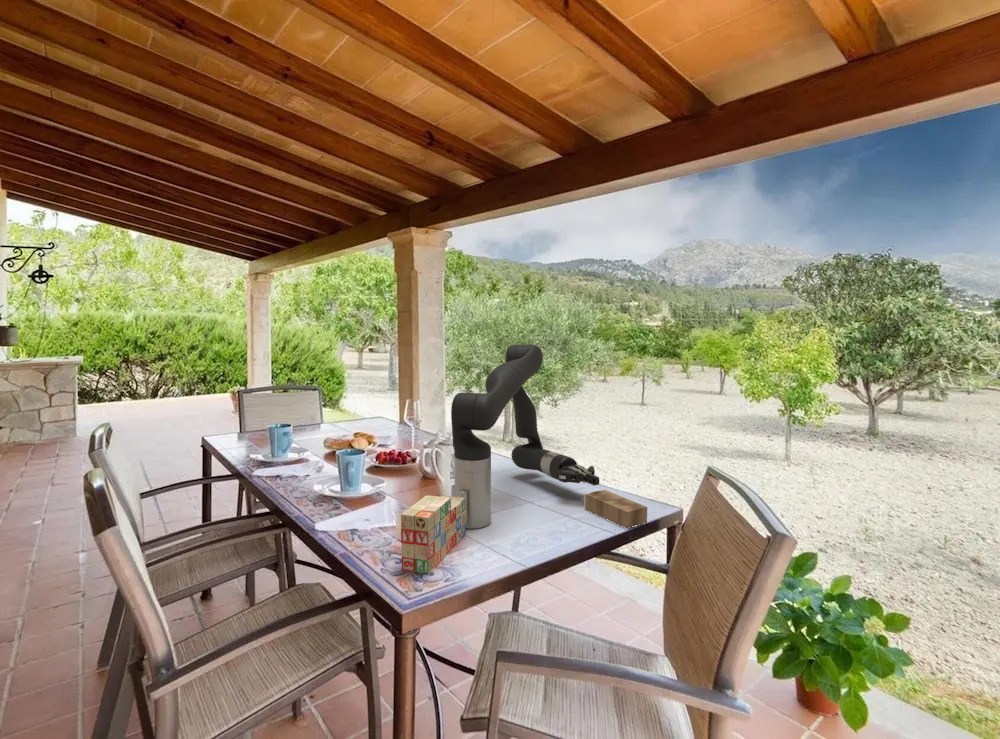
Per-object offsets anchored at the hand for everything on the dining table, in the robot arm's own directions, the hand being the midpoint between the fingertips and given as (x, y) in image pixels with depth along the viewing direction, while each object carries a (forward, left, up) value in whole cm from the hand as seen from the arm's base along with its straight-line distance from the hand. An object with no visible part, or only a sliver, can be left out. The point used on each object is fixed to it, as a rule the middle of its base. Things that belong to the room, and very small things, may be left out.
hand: (597, 481), depth 148 cm
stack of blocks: (-49, -2, -8) cm, 50 cm away
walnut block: (0, +1, -5) cm, 5 cm away
